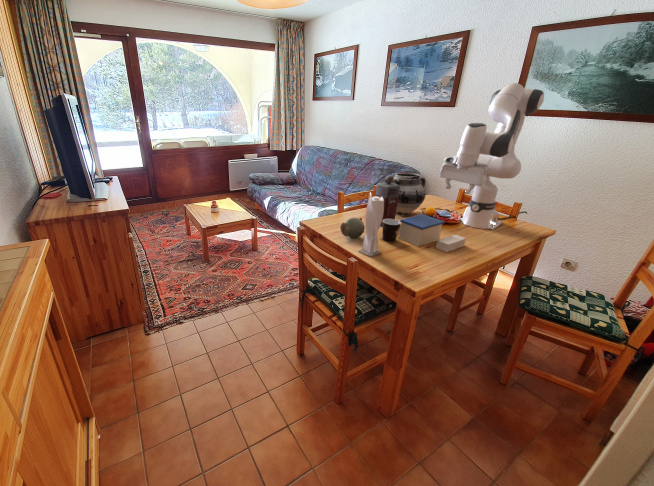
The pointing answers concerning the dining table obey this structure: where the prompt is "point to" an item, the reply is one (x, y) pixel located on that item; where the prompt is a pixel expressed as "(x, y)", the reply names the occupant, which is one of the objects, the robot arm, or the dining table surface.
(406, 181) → the ceramic pot
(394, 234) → the coffee mug
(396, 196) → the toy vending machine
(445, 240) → the case
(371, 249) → the skyscraper
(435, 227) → the container
